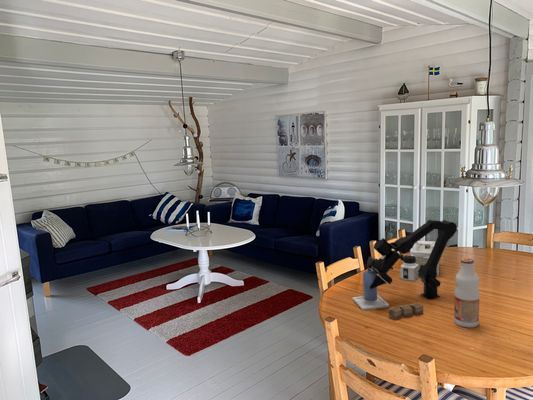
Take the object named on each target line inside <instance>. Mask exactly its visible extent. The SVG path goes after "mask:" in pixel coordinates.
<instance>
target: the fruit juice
mask: <svg viewBox="0 0 533 400" xmlns="http://www.w3.org/2000/svg"><path fill="white" fill-rule="evenodd" d="M460 264H461V265H460V269H459V271H458V272H457V273H456V275H455V277H454V282H455V288H454V302H453V303H454V306H453V307H454V309H453V311H454V313H453V315H454V317H453V318H454V319H453V320H454V323H455V324H457V325H458V326H460V327H462V328H463V327H464V328H469V329H470V328H476V327H478V325H479V323H480V290H479V284H480V278H479V275H478V274H477V273H476V271H475V269H474V264H475V260H474V258H469V257H462V258H461V259H460Z"/></svg>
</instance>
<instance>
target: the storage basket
mask: <svg viewBox="0 0 533 400" xmlns="http://www.w3.org/2000/svg"><path fill="white" fill-rule="evenodd" d="M435 242H436V241H434V240H432V241H431V240H430V241H429V240H419V241H417V242H416V243H415V244H414V246H413V248H412V249H411V250H410V251H409V253H410V254H409V255H413V256H415V257H416V264H418V268H419V269H420V266H421V265H423V266H424V265H425V264H426V263H427V261H428V259H429V256H430V254H431V252H432V249H433V247H434V245H435ZM421 246H425V247H427V246H429V248H421ZM439 273H440V262H439V263H438V265H437V276H436V277H438V276H439V275H440V274H439Z"/></svg>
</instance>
